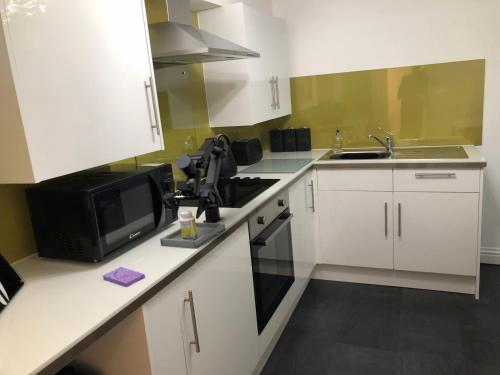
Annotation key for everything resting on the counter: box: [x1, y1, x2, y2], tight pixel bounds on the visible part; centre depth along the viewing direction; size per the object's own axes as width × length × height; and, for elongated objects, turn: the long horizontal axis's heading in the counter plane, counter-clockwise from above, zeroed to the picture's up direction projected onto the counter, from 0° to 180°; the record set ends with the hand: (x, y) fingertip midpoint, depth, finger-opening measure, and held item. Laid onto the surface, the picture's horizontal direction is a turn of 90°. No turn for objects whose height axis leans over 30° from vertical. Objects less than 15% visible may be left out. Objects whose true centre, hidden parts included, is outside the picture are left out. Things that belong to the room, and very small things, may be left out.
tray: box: [159, 221, 226, 249], centre depth 158 cm, size 20×16×2 cm
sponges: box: [102, 266, 146, 287], centre depth 127 cm, size 7×13×2 cm, turn 52°
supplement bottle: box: [179, 210, 197, 240], centre depth 153 cm, size 6×6×10 cm
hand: (185, 219), depth 151 cm, fingers open, 9 cm apart
